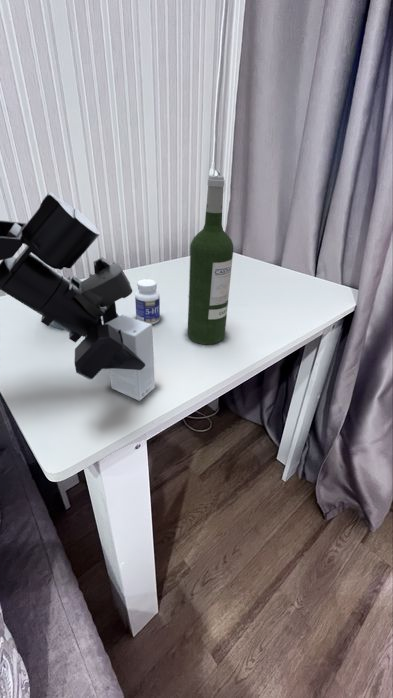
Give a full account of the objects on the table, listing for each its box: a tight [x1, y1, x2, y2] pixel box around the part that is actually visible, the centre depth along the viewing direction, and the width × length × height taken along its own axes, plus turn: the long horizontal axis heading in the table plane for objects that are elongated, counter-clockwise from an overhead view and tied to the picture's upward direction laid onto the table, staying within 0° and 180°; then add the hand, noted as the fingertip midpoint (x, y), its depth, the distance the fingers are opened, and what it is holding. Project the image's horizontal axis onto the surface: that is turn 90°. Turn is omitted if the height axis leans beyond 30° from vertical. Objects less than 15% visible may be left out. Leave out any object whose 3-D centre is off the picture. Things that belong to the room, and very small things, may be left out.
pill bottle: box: [134, 278, 161, 325], centre depth 73 cm, size 5×5×9 cm
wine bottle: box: [187, 175, 234, 346], centre depth 62 cm, size 8×8×30 cm
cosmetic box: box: [106, 314, 156, 402], centre depth 51 cm, size 6×4×12 cm
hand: (139, 353), depth 51 cm, fingers closed on cosmetic box, 7 cm apart
